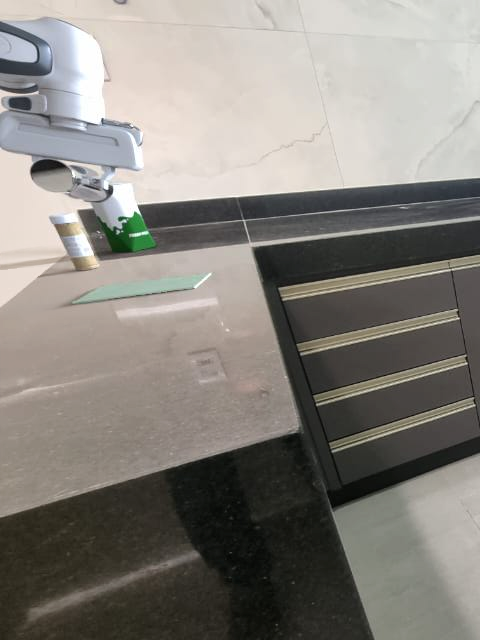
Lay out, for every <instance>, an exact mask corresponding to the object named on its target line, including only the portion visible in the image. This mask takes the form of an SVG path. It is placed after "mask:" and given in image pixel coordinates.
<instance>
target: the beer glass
mask: <svg viewBox="0 0 480 640" xmlns="http://www.w3.org/2000/svg"><path fill="white" fill-rule="evenodd" d="M103 174H104V173H101V172H100V171H97V170H95V169H93V168H90V167H88V166H84V165H79V164H67V163H65V161H63V160H57V159H52V158H43V159H39V160H37V161H35V162H34V163H33V162H32V164H31V165H30V167H29V176H30V179H31V180H32V182H33V184H35V185H36V186H37V187H39V188H40V189H43V190H45V191H47V192H49V193H58V194H59V193H61V194H62V195H64V196H66V197H68V198H71V199H72V200H75V201H80V202H85V203H90V202H93V203H101V202H105V201H107V200H108V199H110V198H111V197H112V195H113V192H114V187H113V184H114V183H113V182H112V181H111V180H110V181H108V190H105V189H98V188H95V182H94V179H100V178H101V177H102V175H103Z"/></svg>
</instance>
